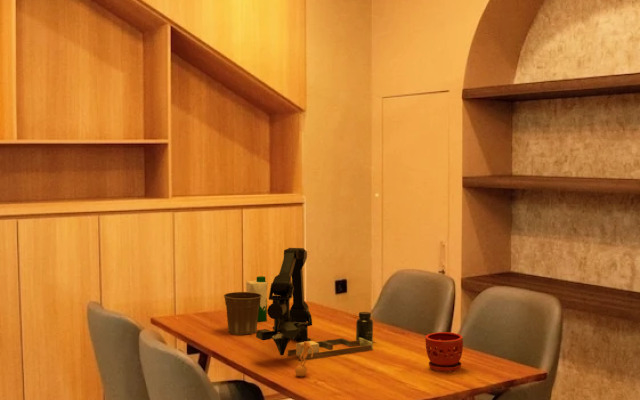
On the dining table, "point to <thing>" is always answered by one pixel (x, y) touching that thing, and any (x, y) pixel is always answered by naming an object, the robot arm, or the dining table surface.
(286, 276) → the robot arm
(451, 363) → the plant pot
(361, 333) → the supplement bottle
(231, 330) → the plant pot
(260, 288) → the milk carton
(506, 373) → the dining table surface
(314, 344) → the cream block
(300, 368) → the figurine
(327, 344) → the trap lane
